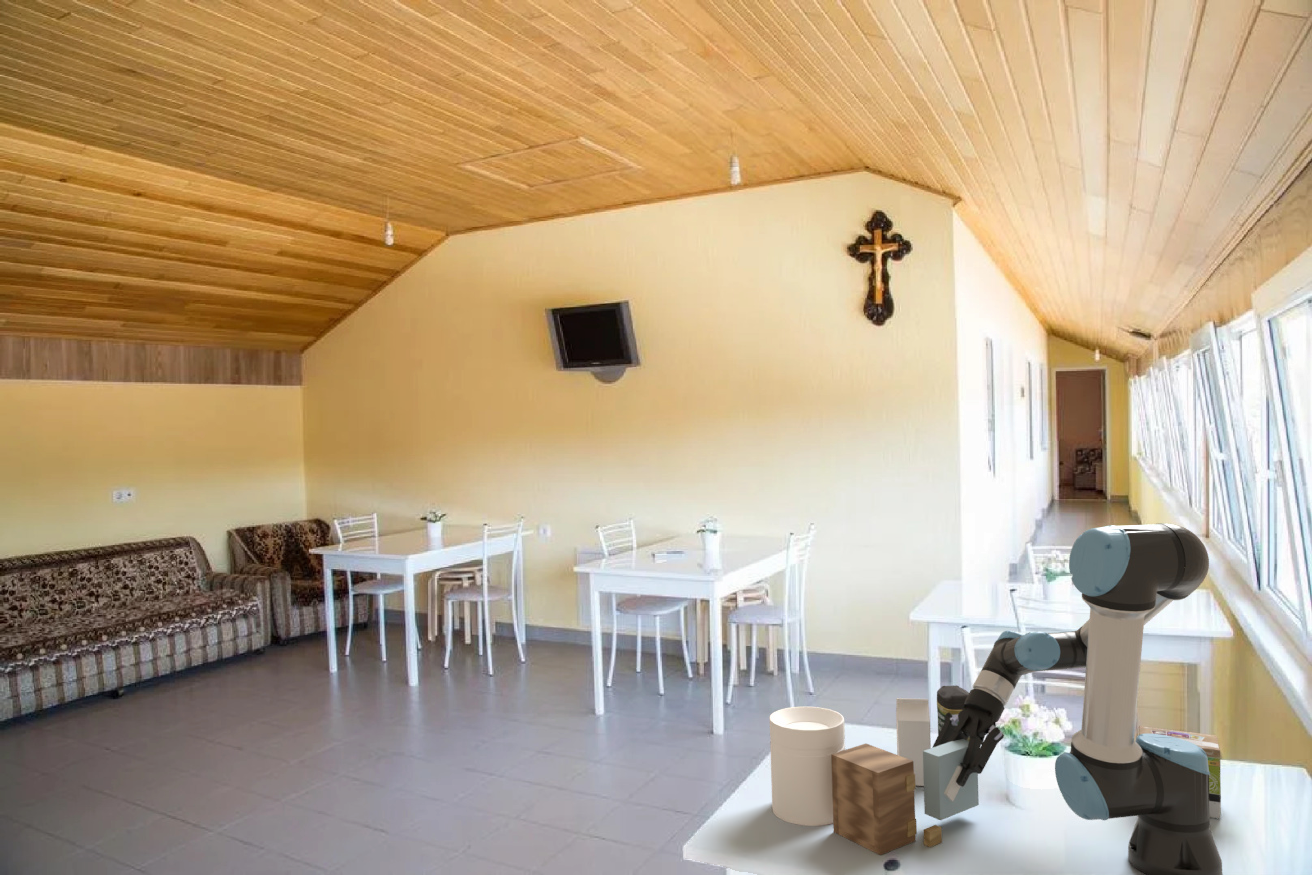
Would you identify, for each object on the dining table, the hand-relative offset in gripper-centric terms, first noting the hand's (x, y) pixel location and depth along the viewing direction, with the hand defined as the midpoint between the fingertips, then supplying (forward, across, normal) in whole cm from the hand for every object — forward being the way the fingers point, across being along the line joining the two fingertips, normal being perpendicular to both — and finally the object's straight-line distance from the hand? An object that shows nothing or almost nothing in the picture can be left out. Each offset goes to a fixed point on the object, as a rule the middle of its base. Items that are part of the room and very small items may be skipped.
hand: (939, 793), depth 189 cm
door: (0, 0, -6) cm, 6 cm away
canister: (+16, +23, +5) cm, 28 cm away
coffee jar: (-16, +20, -27) cm, 37 cm away
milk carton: (-5, +20, -16) cm, 26 cm away
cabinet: (+13, +4, +3) cm, 14 cm away
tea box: (-29, -23, -39) cm, 54 cm away
